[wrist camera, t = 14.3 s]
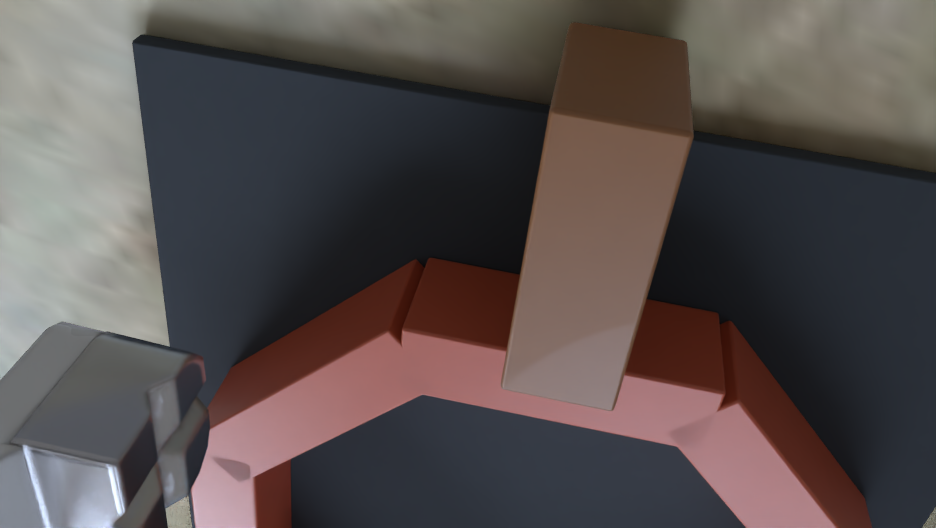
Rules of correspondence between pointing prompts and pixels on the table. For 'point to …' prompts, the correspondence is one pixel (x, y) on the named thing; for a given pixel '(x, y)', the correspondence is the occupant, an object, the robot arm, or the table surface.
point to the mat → (502, 248)
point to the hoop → (545, 326)
